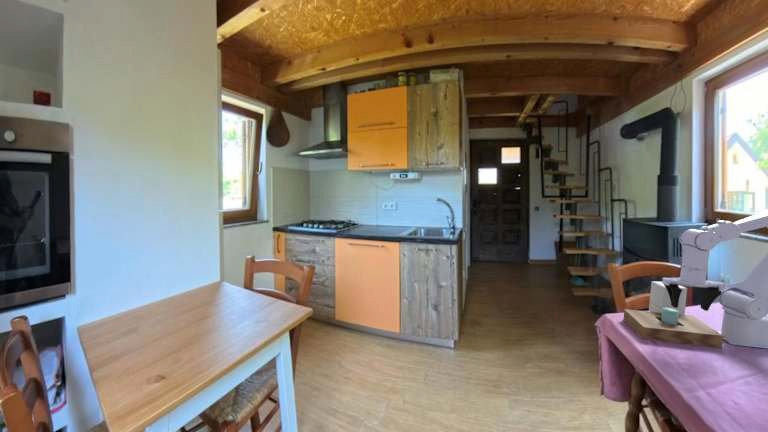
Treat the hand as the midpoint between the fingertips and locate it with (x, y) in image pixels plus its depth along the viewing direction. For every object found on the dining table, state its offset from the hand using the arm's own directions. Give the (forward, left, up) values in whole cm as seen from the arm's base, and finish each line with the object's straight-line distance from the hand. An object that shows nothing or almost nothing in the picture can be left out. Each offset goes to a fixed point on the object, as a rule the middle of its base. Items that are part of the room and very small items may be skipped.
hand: (689, 308), depth 96 cm
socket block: (+3, -3, -10) cm, 11 cm away
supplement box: (-3, -17, -11) cm, 20 cm away
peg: (+3, -3, -10) cm, 11 cm away
